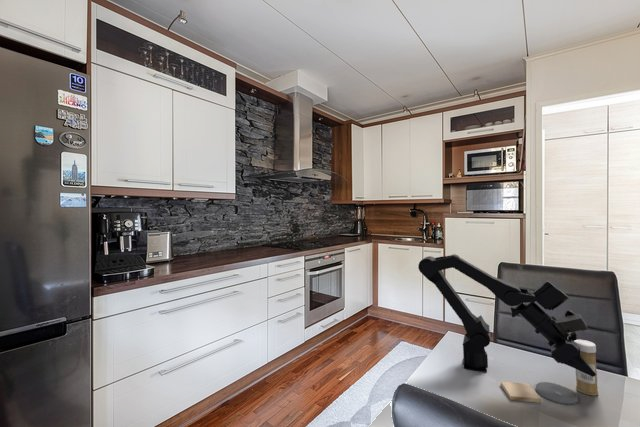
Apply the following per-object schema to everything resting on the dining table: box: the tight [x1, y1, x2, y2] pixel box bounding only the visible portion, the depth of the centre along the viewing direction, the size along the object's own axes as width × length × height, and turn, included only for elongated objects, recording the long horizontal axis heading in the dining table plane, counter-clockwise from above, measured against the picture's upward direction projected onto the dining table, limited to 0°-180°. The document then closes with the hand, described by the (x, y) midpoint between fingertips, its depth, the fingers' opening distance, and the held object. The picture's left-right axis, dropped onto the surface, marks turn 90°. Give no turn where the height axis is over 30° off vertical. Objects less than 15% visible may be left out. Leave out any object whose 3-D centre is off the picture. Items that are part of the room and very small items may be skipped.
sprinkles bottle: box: [574, 339, 599, 397], centre depth 80 cm, size 5×5×14 cm
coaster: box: [535, 381, 579, 405], centre depth 79 cm, size 9×9×1 cm
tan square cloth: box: [500, 381, 542, 404], centre depth 80 cm, size 7×7×1 cm
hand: (592, 368), depth 79 cm, fingers open, 9 cm apart
